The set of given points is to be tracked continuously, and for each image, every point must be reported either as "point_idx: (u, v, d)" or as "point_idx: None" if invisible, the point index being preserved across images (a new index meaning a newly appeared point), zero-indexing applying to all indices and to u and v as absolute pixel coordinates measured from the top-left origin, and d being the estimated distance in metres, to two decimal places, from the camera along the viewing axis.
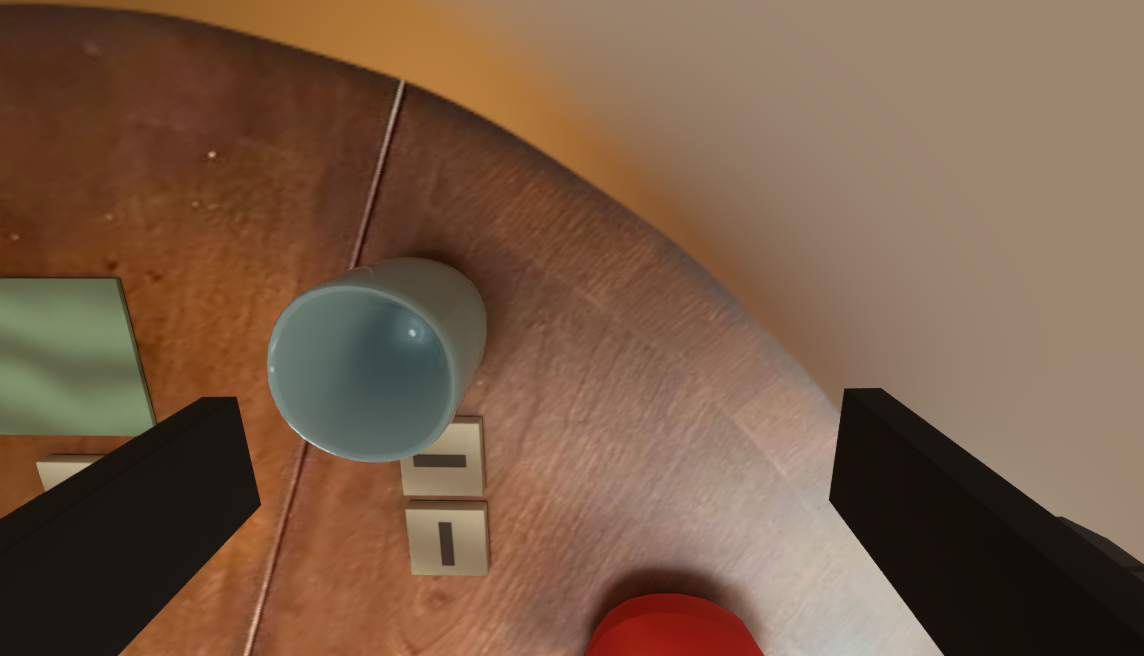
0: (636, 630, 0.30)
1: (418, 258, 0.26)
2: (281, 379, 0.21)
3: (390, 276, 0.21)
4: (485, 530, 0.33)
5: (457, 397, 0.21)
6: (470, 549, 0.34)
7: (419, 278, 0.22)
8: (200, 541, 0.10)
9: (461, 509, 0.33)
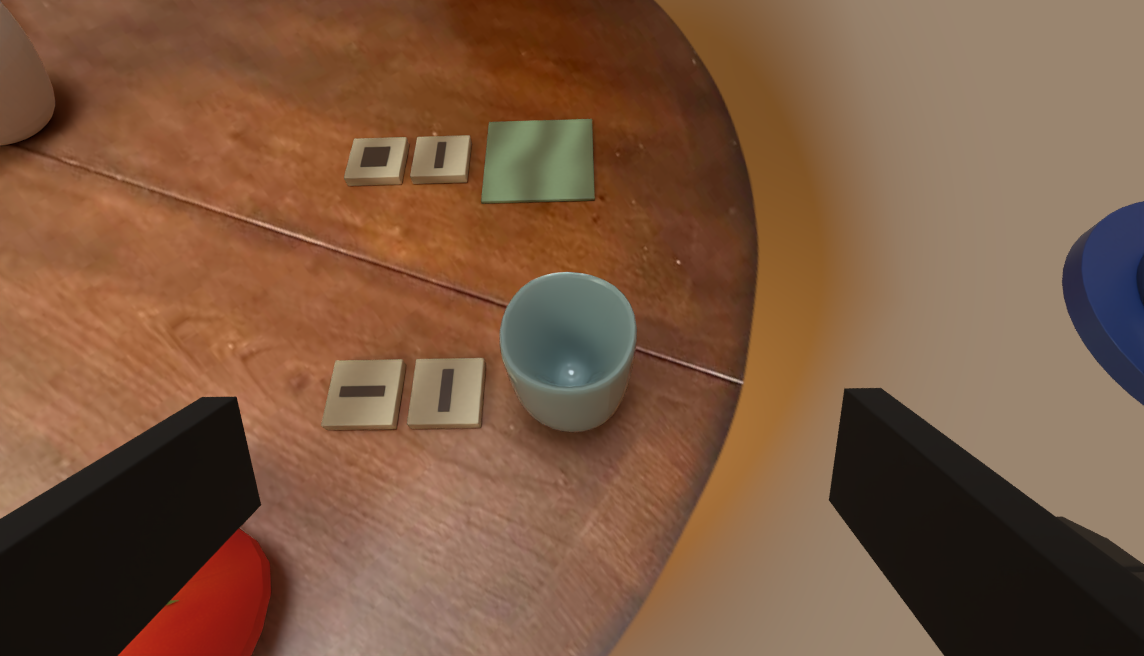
0: (249, 570, 0.28)
1: None
2: (564, 280, 0.31)
3: (634, 355, 0.30)
4: (370, 425, 0.36)
5: (551, 392, 0.28)
6: (352, 411, 0.37)
7: (629, 375, 0.31)
8: (200, 541, 0.10)
9: (395, 405, 0.37)
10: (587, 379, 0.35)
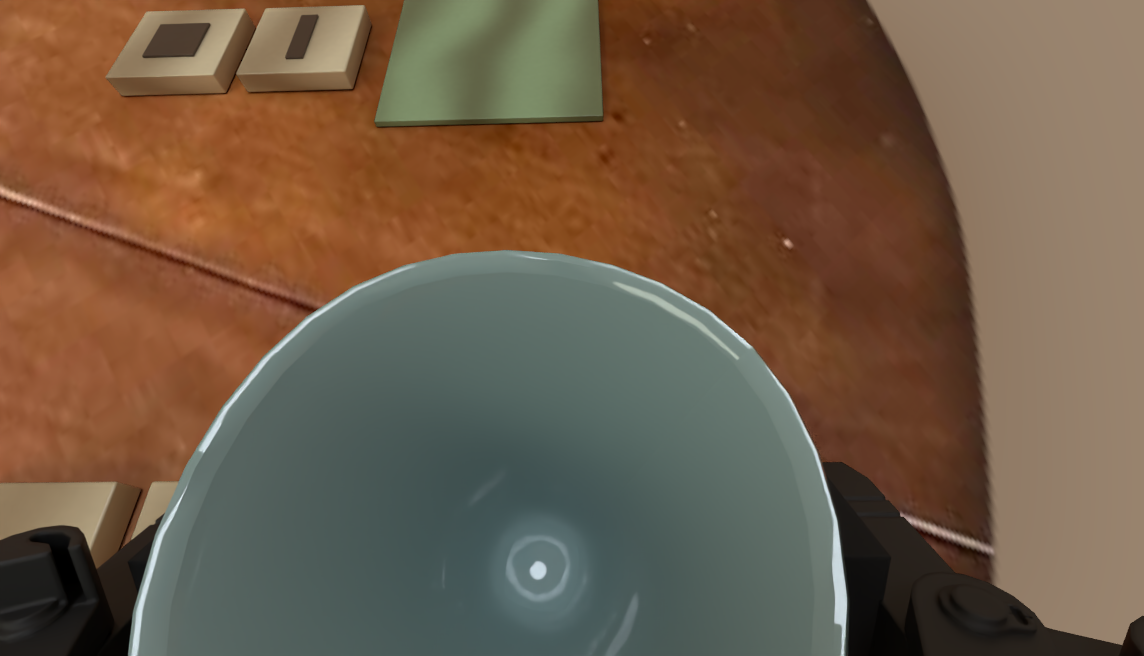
0: None
1: None
2: (498, 282, 0.08)
3: None
4: None
5: None
6: None
7: None
8: None
9: None
10: (589, 589, 0.11)
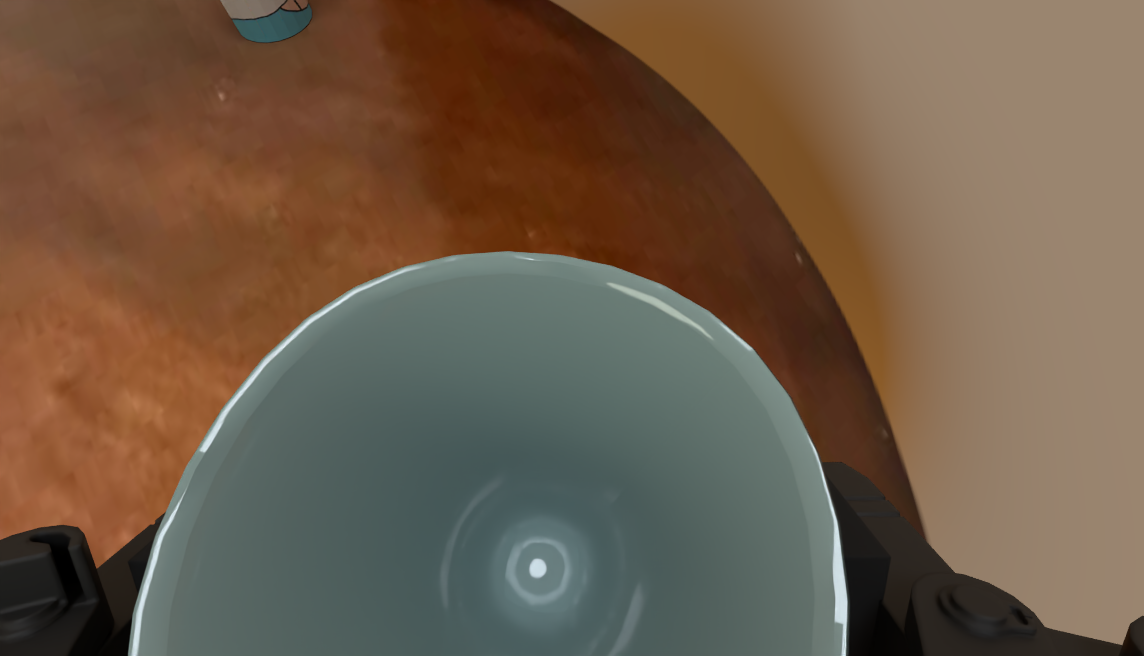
0: None
1: None
2: (497, 284, 0.08)
3: None
4: None
5: None
6: None
7: None
8: None
9: None
10: (589, 590, 0.11)
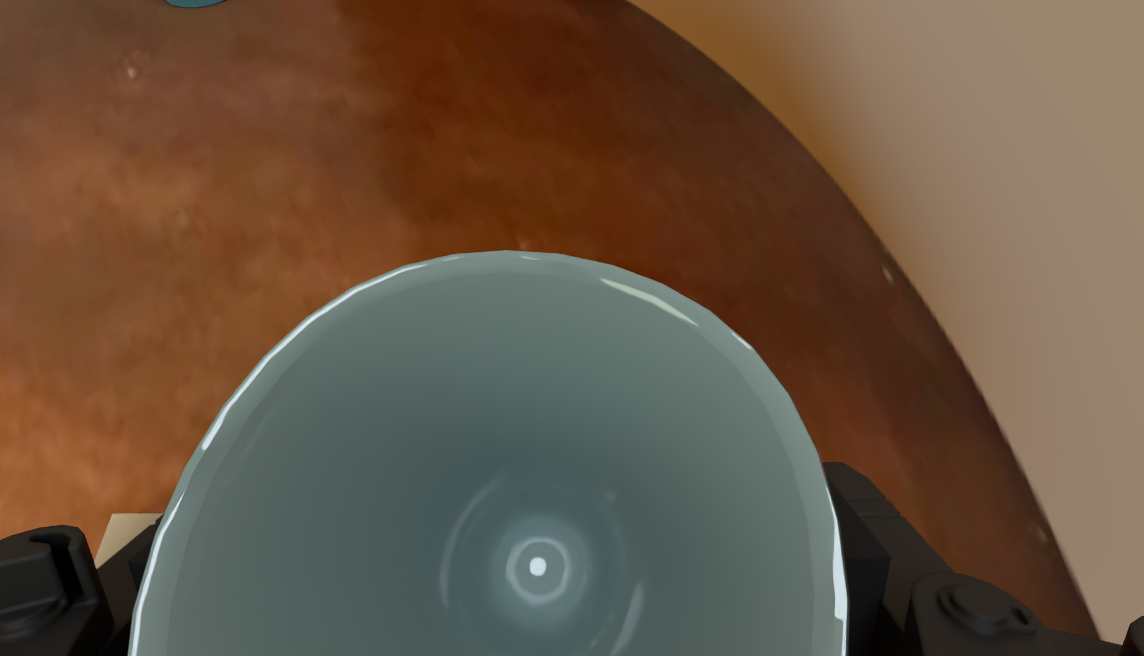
0: None
1: None
2: (498, 282, 0.08)
3: None
4: None
5: None
6: None
7: None
8: None
9: None
10: (589, 589, 0.11)
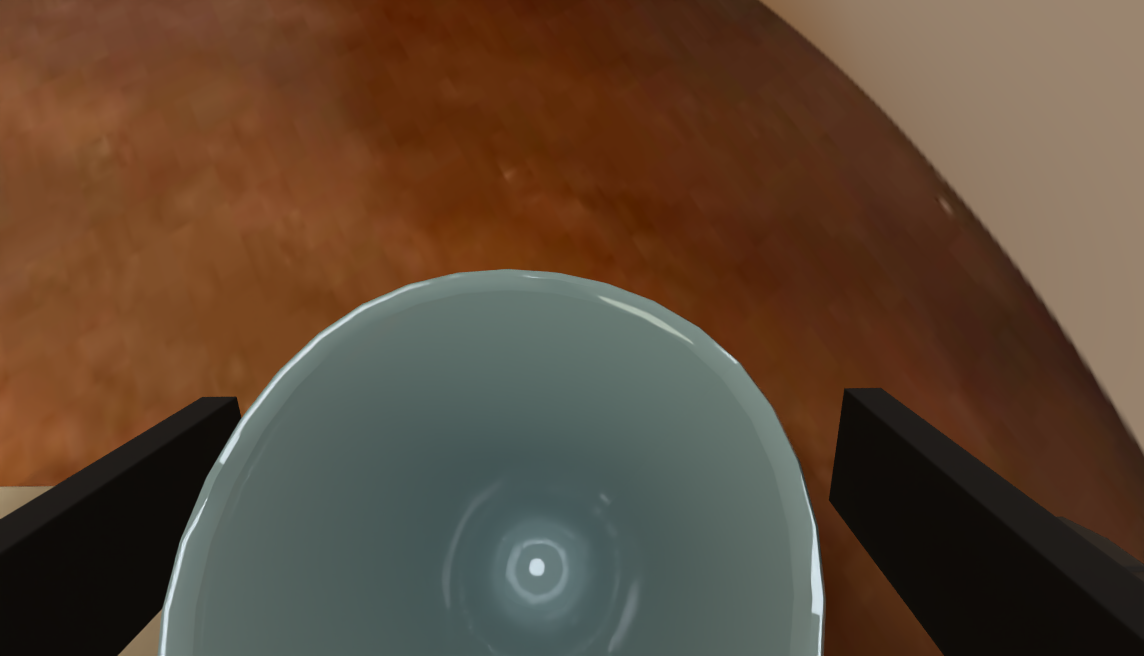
0: None
1: None
2: (498, 299, 0.08)
3: None
4: None
5: None
6: None
7: None
8: None
9: None
10: (586, 589, 0.12)
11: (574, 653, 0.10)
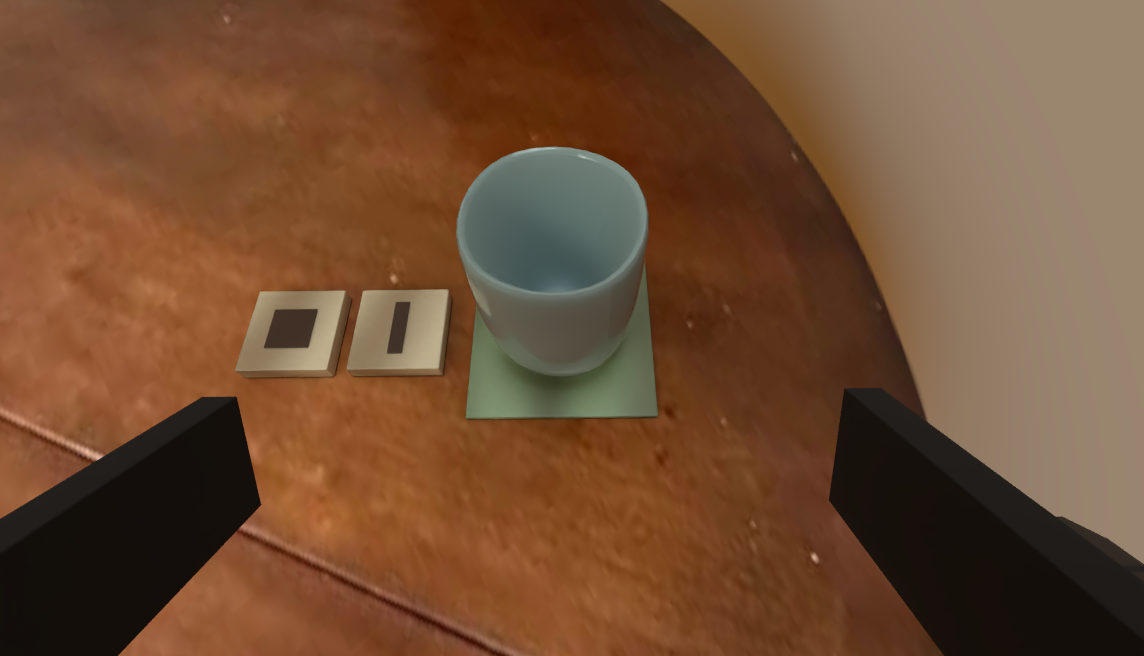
0: None
1: None
2: (548, 158, 0.23)
3: None
4: None
5: (527, 299, 0.19)
6: None
7: (636, 288, 0.22)
8: (200, 541, 0.10)
9: None
10: None
11: None
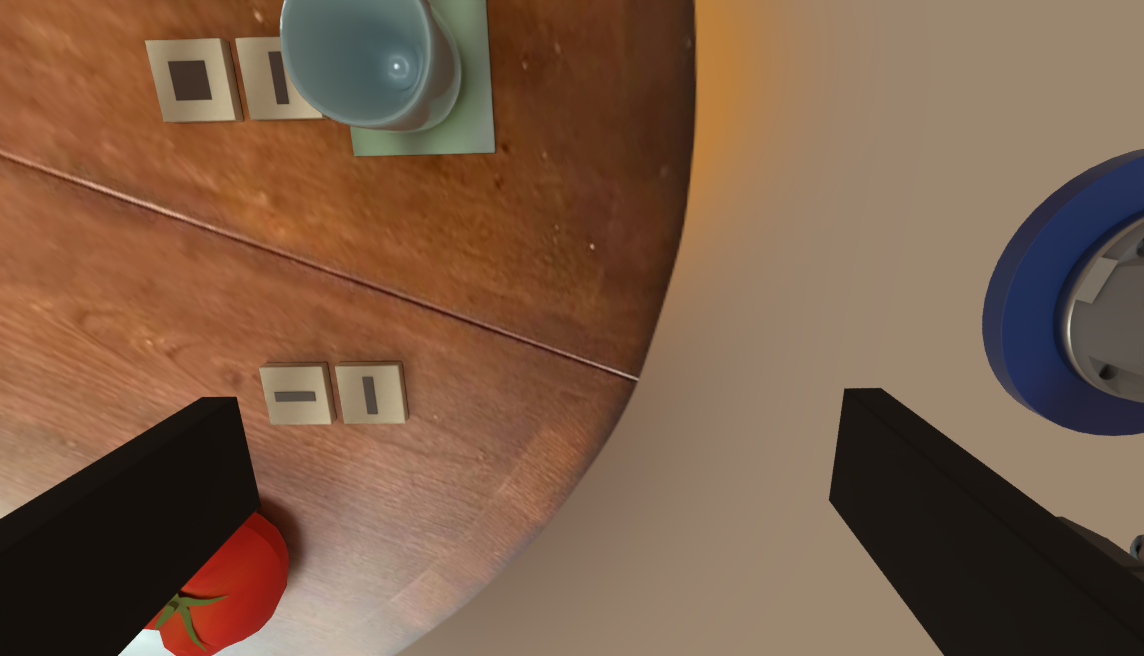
0: (264, 555, 0.41)
1: (460, 76, 0.32)
2: None
3: (441, 68, 0.28)
4: (313, 423, 0.43)
5: (351, 125, 0.27)
6: (293, 413, 0.42)
7: (442, 89, 0.29)
8: (200, 541, 0.10)
9: (329, 407, 0.42)
10: (416, 74, 0.32)
11: (406, 90, 0.31)
